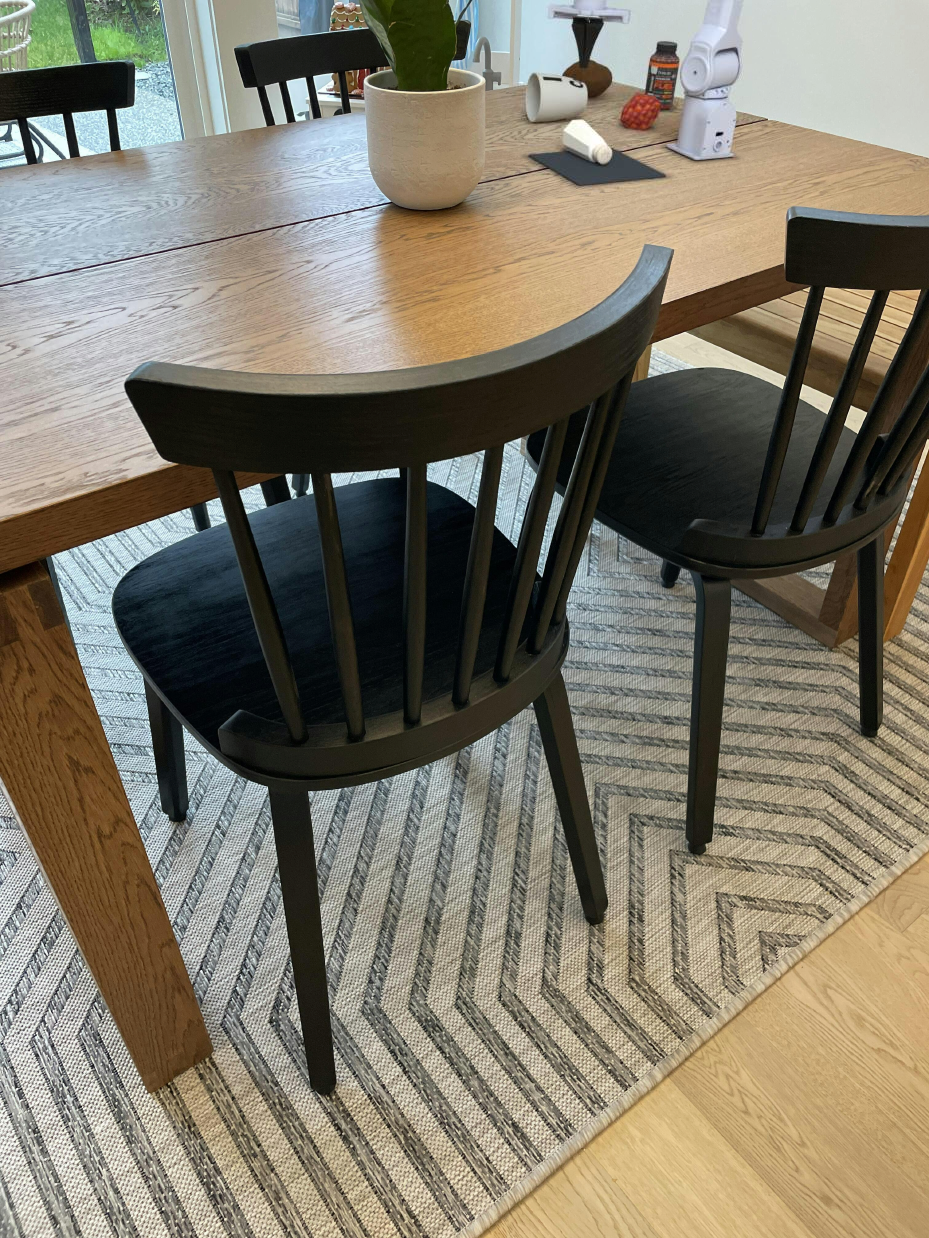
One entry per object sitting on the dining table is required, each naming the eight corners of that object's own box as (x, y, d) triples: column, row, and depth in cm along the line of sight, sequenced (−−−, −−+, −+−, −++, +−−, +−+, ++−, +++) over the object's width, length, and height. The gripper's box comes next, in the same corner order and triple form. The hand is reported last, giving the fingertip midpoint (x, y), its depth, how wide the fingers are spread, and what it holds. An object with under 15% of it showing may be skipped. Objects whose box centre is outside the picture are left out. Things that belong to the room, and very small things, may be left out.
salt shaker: (555, 146, 158) (584, 167, 150) (570, 113, 155) (600, 132, 147) (580, 157, 160) (609, 178, 153) (594, 125, 158) (625, 144, 150)
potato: (618, 99, 192) (622, 60, 188) (571, 103, 188) (575, 64, 184) (600, 92, 197) (604, 55, 192) (554, 96, 193) (557, 58, 188)
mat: (665, 177, 149) (666, 175, 148) (578, 186, 144) (578, 184, 143) (610, 149, 161) (610, 147, 161) (528, 156, 156) (528, 154, 156)
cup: (593, 75, 169) (542, 74, 167) (588, 125, 174) (538, 125, 171) (576, 72, 176) (527, 71, 173) (571, 119, 180) (523, 119, 178)
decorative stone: (625, 136, 177) (666, 121, 174) (622, 139, 172) (665, 123, 169) (616, 101, 175) (658, 84, 172) (613, 102, 169) (656, 85, 166)
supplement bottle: (650, 111, 184) (659, 45, 177) (638, 104, 189) (646, 40, 181) (677, 110, 186) (687, 45, 178) (664, 103, 190) (674, 39, 183)
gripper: (547, -23, 159) (541, 68, 168) (630, -17, 156) (619, 74, 165) (554, -27, 164) (548, 61, 173) (635, -22, 162) (625, 67, 170)
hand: (583, 67), depth 170 cm, fingers closed
